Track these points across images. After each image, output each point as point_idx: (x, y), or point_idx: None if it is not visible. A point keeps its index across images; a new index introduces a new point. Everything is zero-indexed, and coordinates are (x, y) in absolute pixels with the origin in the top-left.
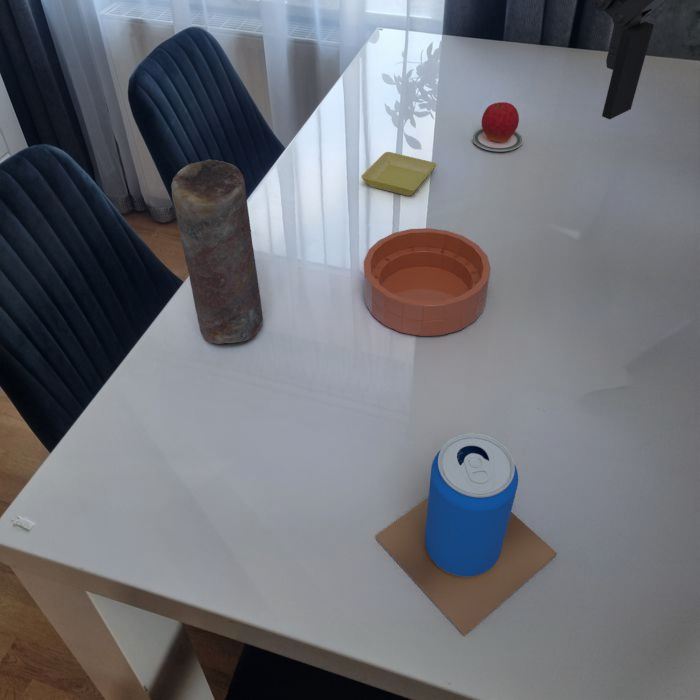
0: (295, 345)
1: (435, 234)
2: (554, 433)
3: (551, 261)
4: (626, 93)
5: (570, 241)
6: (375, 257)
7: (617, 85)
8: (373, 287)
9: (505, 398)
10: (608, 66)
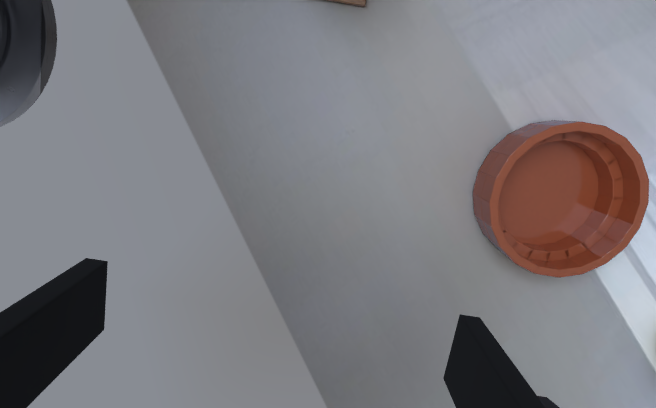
0: (622, 26)
1: (591, 260)
2: (324, 113)
3: None
4: (465, 376)
5: None
6: (632, 181)
7: (489, 356)
8: (601, 125)
9: (386, 120)
10: (545, 399)
